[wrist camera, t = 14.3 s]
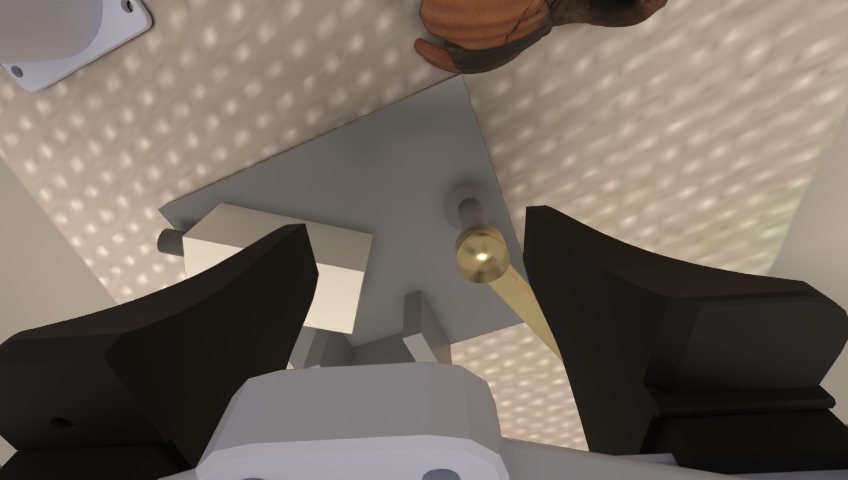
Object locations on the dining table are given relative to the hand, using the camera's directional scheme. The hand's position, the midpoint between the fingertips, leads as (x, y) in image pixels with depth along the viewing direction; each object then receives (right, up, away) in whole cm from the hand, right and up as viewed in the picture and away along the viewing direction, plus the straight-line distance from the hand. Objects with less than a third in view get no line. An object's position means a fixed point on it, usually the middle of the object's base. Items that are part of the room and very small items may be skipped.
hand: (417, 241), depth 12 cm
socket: (-3, -1, +12) cm, 13 cm away
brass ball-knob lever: (+6, -4, +8) cm, 11 cm away
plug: (-9, 0, +11) cm, 14 cm away
